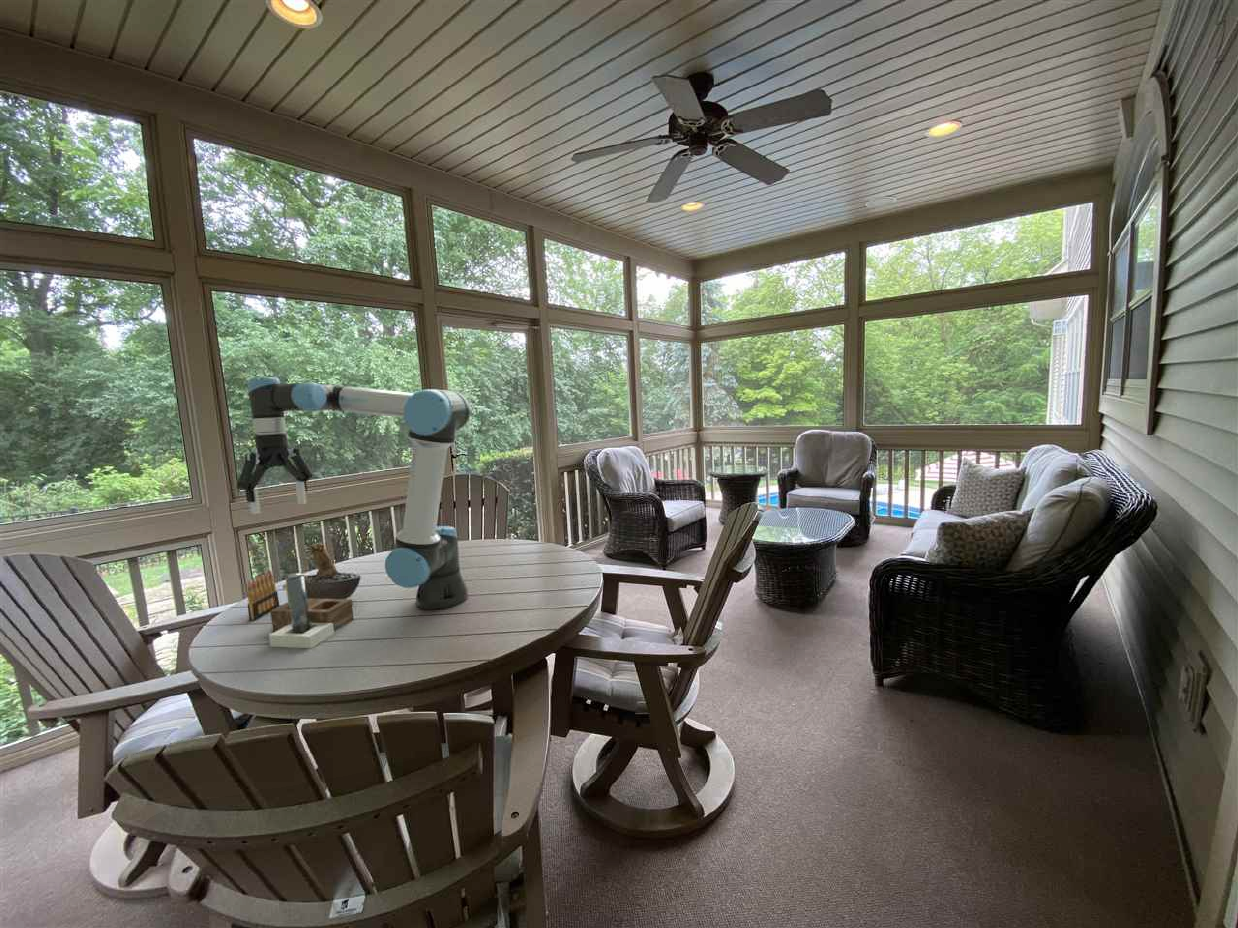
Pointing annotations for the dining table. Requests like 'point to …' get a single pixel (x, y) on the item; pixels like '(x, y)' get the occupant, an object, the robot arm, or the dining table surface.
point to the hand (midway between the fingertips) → (280, 508)
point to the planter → (329, 578)
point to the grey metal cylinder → (298, 603)
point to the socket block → (317, 613)
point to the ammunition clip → (262, 596)
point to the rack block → (301, 636)
